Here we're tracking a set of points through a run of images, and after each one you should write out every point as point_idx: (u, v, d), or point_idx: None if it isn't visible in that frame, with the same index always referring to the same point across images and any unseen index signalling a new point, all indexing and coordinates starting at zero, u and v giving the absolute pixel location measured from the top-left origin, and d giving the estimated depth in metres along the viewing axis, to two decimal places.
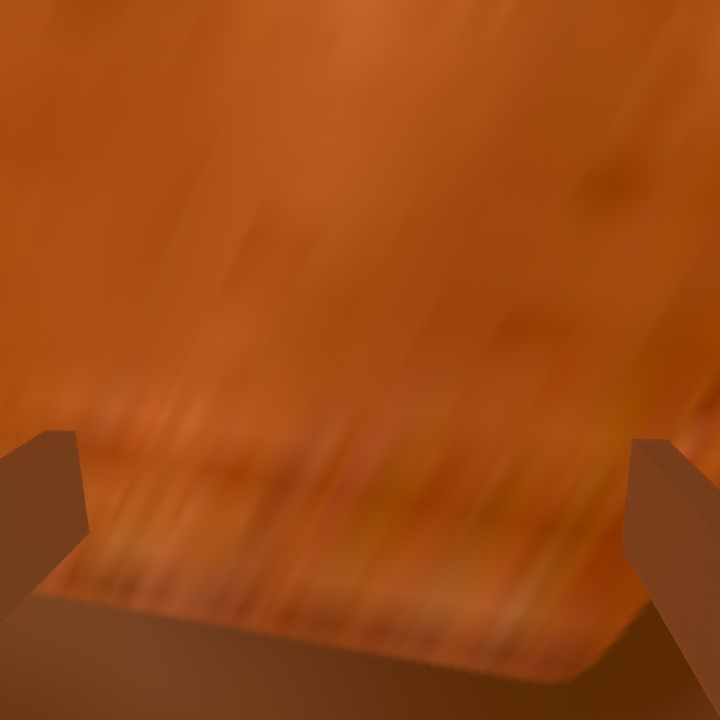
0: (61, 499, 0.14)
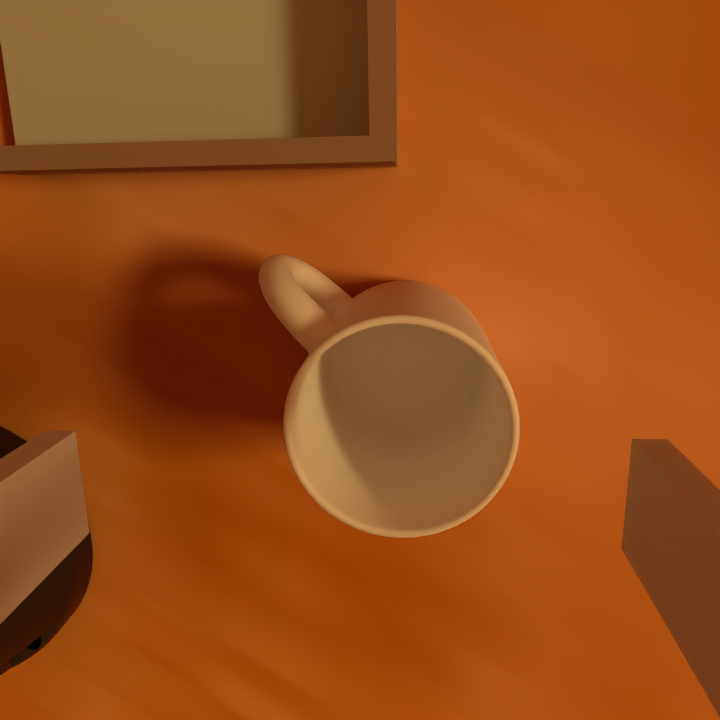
0: (61, 499, 0.14)
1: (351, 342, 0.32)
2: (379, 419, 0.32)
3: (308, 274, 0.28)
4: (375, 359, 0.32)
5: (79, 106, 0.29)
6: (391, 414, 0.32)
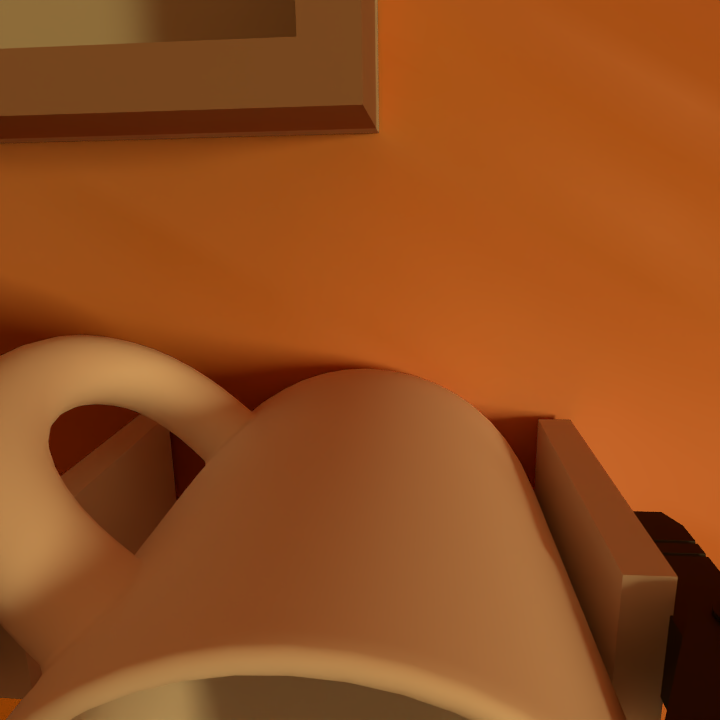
0: (158, 478, 0.15)
1: None
2: None
3: (140, 374, 0.12)
4: None
5: None
6: None
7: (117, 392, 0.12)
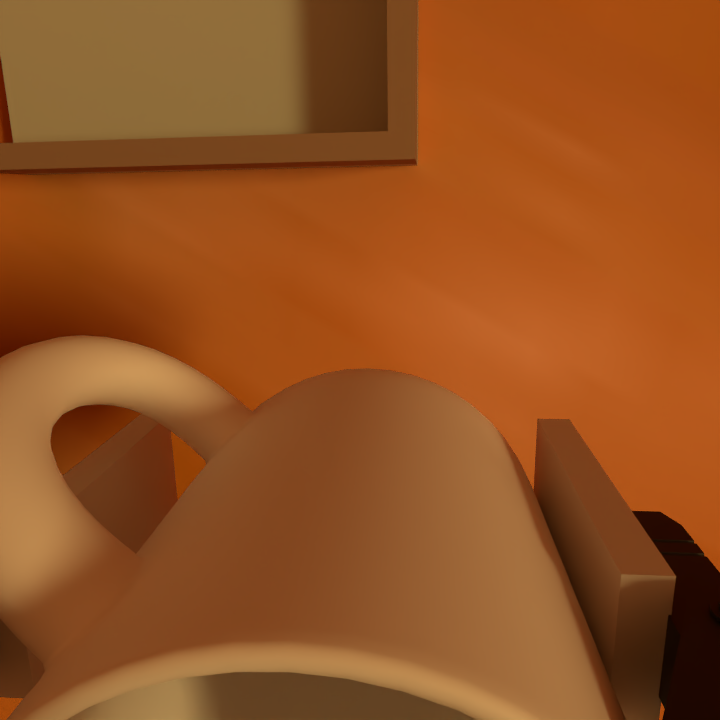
0: (159, 478, 0.16)
1: None
2: None
3: (141, 374, 0.12)
4: None
5: (80, 102, 0.27)
6: None
7: (118, 392, 0.12)
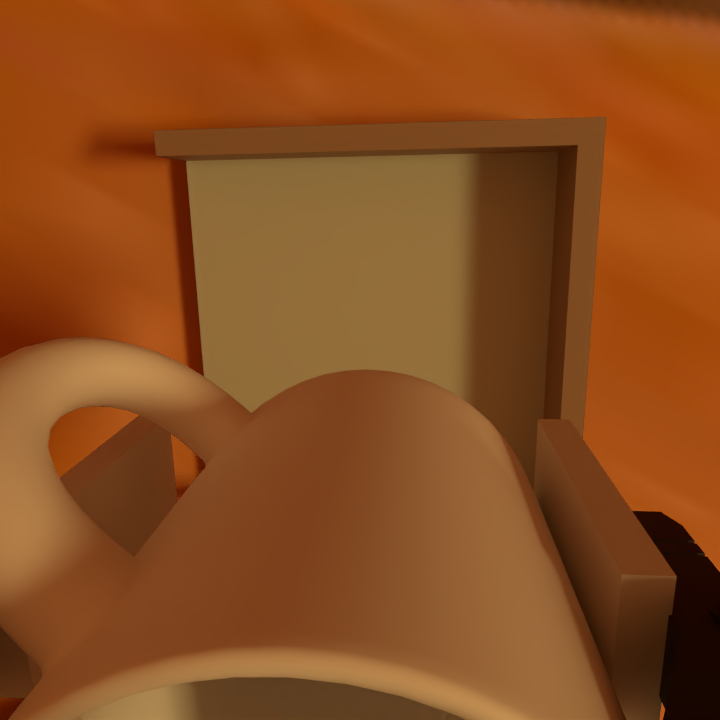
0: (159, 478, 0.16)
1: None
2: None
3: (139, 376, 0.12)
4: None
5: None
6: None
7: (117, 394, 0.12)
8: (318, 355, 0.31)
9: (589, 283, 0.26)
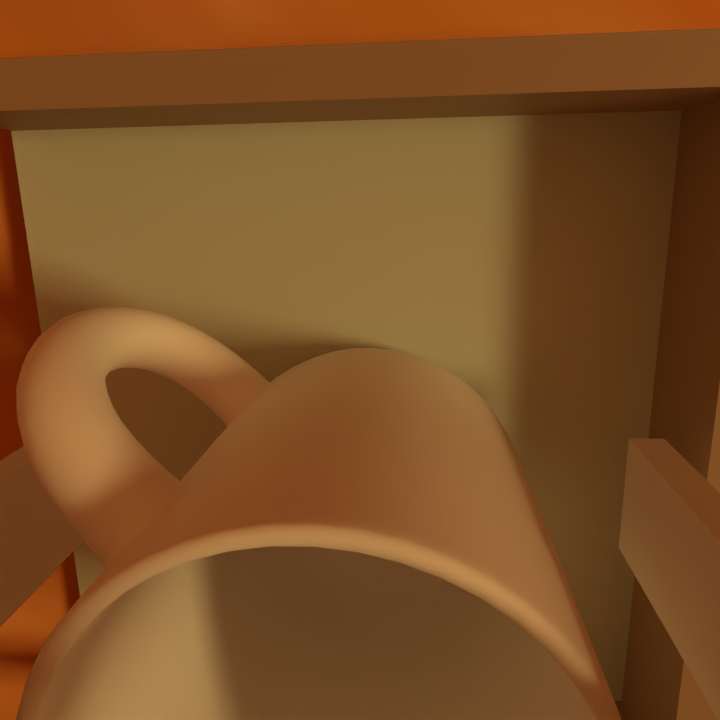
0: None
1: None
2: (327, 580, 0.19)
3: (174, 342, 0.14)
4: None
5: None
6: (347, 572, 0.19)
7: (154, 357, 0.14)
8: None
9: None
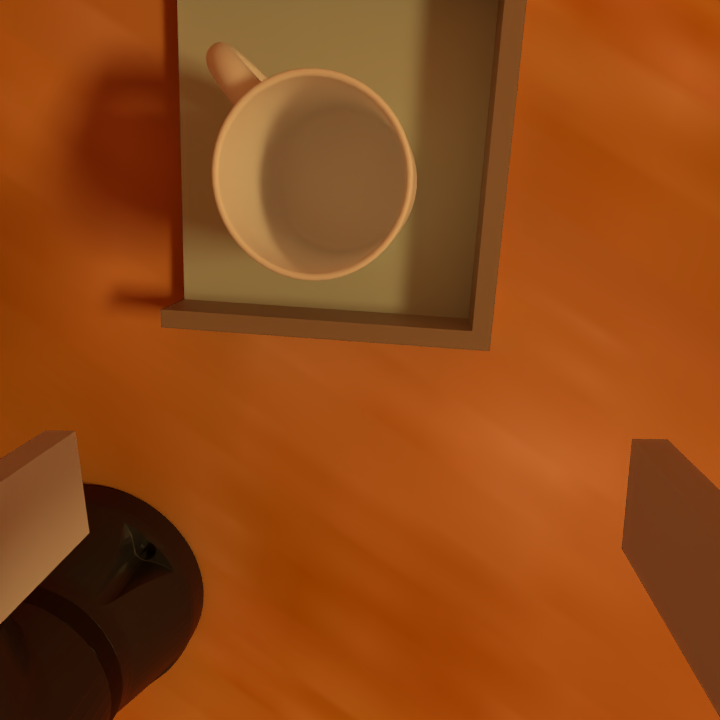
0: (61, 499, 0.14)
1: (297, 162, 0.35)
2: (317, 238, 0.36)
3: (256, 75, 0.31)
4: (317, 180, 0.35)
5: (239, 270, 0.37)
6: (328, 234, 0.36)
7: None
8: None
9: (512, 95, 0.30)
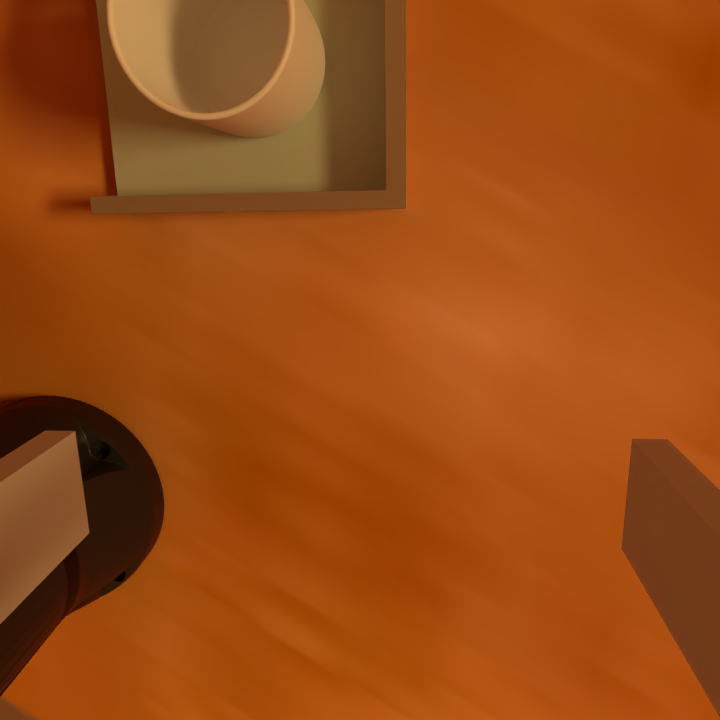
0: (61, 499, 0.14)
1: (211, 48, 0.36)
2: None
3: None
4: (232, 64, 0.37)
5: (167, 162, 0.39)
6: None
7: None
8: None
9: None
